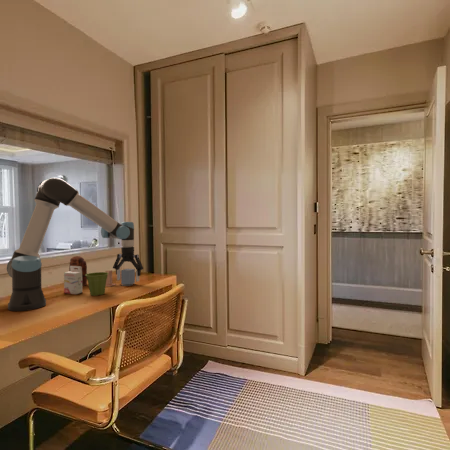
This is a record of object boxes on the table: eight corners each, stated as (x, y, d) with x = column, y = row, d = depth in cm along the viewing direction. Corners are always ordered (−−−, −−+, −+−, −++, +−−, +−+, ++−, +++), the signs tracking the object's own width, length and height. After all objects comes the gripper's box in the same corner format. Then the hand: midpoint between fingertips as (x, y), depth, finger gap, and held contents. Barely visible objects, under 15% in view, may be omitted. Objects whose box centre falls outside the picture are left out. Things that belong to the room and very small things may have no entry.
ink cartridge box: (63, 293, 171) (63, 267, 171) (70, 291, 176) (70, 265, 175) (76, 294, 169) (76, 267, 168) (82, 292, 173) (82, 266, 173)
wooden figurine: (65, 286, 189) (65, 256, 188) (71, 283, 195) (71, 255, 195) (84, 286, 188) (83, 257, 188) (89, 284, 194) (89, 255, 194)
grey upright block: (129, 284, 189) (129, 270, 189) (121, 283, 190) (121, 270, 190) (134, 282, 194) (134, 269, 194) (126, 282, 196) (126, 268, 196)
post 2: (129, 286, 189) (129, 271, 188) (121, 285, 190) (121, 271, 190) (135, 284, 194) (134, 269, 194) (126, 283, 196) (126, 269, 196)
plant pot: (109, 290, 177) (109, 271, 176) (108, 295, 165) (108, 275, 165) (86, 292, 173) (86, 272, 172) (84, 297, 162) (84, 276, 161)
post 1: (110, 286, 188) (109, 271, 187) (101, 285, 189) (101, 271, 189) (116, 284, 193) (115, 270, 193) (107, 283, 195) (107, 269, 195)
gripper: (148, 246, 192) (149, 280, 192) (114, 245, 199) (114, 278, 199) (142, 247, 185) (142, 282, 185) (106, 246, 191) (107, 280, 192)
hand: (128, 280), depth 192 cm, fingers open, 13 cm apart
